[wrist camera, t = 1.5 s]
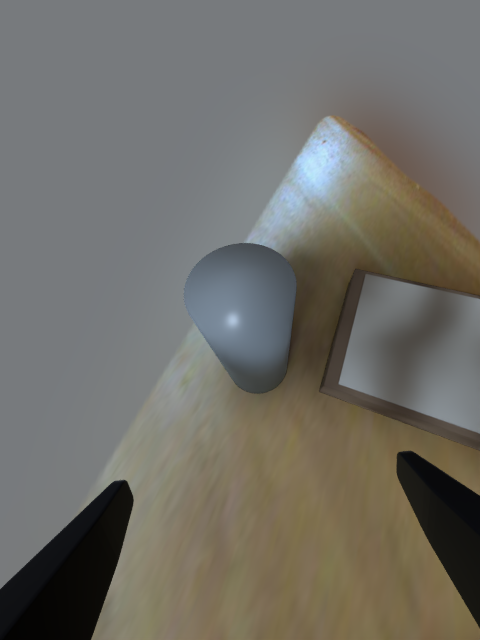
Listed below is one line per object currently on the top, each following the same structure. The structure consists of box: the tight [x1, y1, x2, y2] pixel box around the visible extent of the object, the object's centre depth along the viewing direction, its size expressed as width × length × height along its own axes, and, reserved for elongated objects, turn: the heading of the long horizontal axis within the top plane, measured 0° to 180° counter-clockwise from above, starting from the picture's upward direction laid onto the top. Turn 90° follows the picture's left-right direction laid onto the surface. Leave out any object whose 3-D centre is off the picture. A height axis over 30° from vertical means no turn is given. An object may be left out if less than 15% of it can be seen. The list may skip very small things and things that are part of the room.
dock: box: [319, 269, 480, 450], centre depth 21 cm, size 12×12×3 cm
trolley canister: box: [184, 243, 297, 394], centre depth 18 cm, size 6×6×13 cm
